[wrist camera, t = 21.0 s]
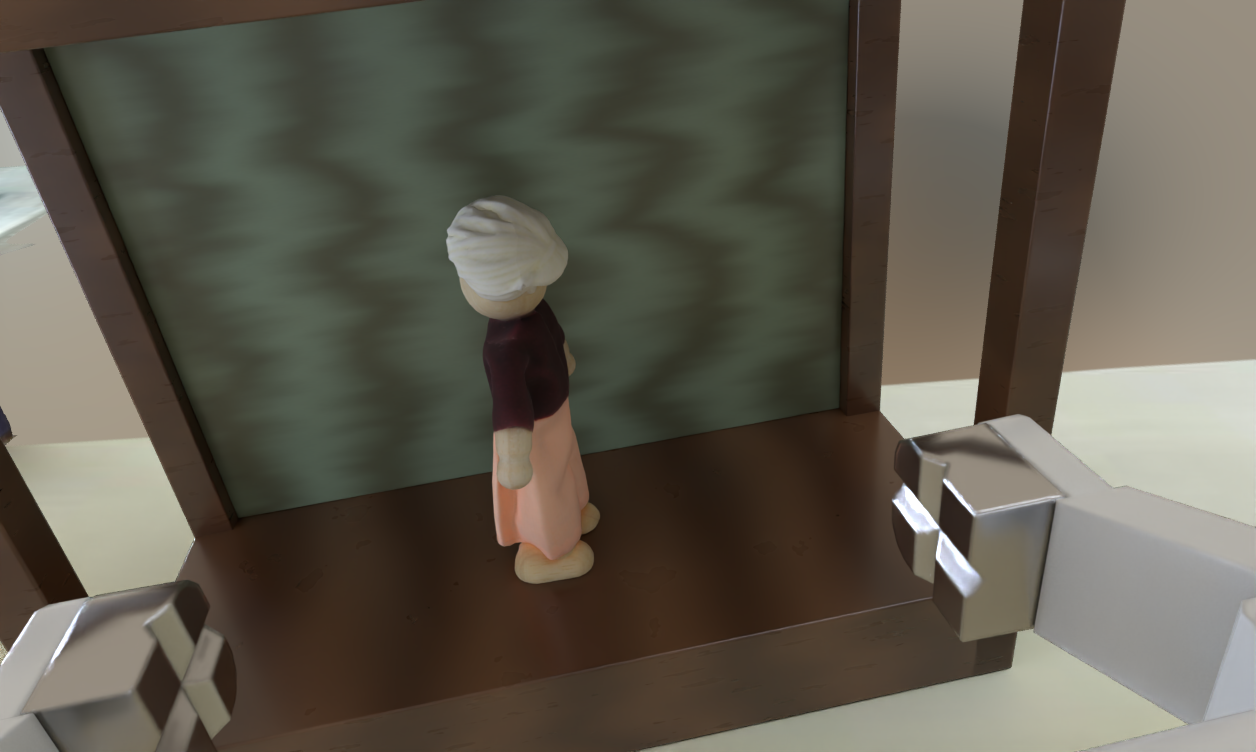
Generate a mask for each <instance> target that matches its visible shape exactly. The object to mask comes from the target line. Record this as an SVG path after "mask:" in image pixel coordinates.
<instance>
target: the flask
mask: <svg viewBox="0 0 1256 752" xmlns="http://www.w3.org/2000/svg"><path fill="white" fill-rule="evenodd" d="M13 437H15V435H14V436H13V435H12V432H11V427H10V424H9V422H8V420H7V418H6V415H5V414H4V413H3V411H2V409H1V407H0V438H1V440H2V441H3V443H4V445H6V444H7V443H8V442H9V441H10V439H12V438H13Z"/></svg>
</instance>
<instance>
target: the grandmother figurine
mask: <svg viewBox="0 0 1256 752" xmlns="http://www.w3.org/2000/svg"><path fill="white" fill-rule="evenodd" d="M447 233H448V238H447V240H446V243H447V247H448V254H449V257H448V258H449V259H450V260H451V261H452V262H453V263H454V264H455V266H456V269H457V272H458V276H459V280H460V285H461V289H462V292H463V294H464V296H465V298H466V299H467V301H468V302H469V304H470V305H471V306H472V307H473V308H474V309H475V310H476V311H477V312H479V313H480V314H482V315H484V316H487V317H489V322H488V327H487V334H486V338H485V342H484V346H483V363H484V368H485V372H486V376H487V380H488V383H489V387H490V391H491V395H492V398H493V409H492V423H493V431H494V434H493V476H492V487H493V505H494V519H495V526H496V534H497V541H498V543H499V544H500V545H502V546H511V545H512V544H514V543H518V542H521V544H520V545H519V550H518V552H517V555H516V559H515V572H516V575H517V576H518V577H519V578H520V579H521V580H522V581H524V582H528V583H532V584H539V583H546V582H552V581H557V580H564V579H570V578H575V577H579V576H581V575H584V574H585V573H587V572H588V571H589V570H590V569H591V568H592V566H593V563H594V553H593V551H592V549H591V547H590V546H589V545H588V544H587V543H585V542H583V541H581V540H580V537H581V535H582V534H586V533H588V532H590V531H592V530H593V529H594V528H595V527H596V526H597V524H598V522H599V520H600V513H599V511H598V510H597V508H596V507H595V506H594V505H593V504H591V503H589V502H588V500H589V491H588V485H587V480H586V474H585V471H584V468H583V464H582V460H581V456H580V452H579V447H578V443H577V439H576V435H575V432H574V430H573V428H572V426H571V415H570V408H569V400H568V396H569V376H570V375H571V374H572V373H573V372H574V370H575V366H576V363H575V359H574V357H573V356H572V354H571V353H570V352H569V347H568V344H567V342H566V340H565V334H564V331H563V329H562V327H561V326H560V324H559V323H558V321H557V319H556V316H555V314H554V313H553V311H552V309H551V308H550V306H549V304H548V303H547V302H546V301H545V300H544V299H543V297H544V294H545V292H546V288H547V285H550V284H552V283H553V282H555V281H556V280H557V279H558V278H559V277H560V276H561V275H562V273H563V272H564V269H565V267H566V265H567V261H568V250H567V247H566V246H565V244H564V243H563V241H562V240H561V238H560V237H559V236H558V235H557V234H556V233H555V230H554V228H553V227H552V226H551V224H550V221H549V220H548V219H547V217H546V216H545V215H544V214H543V213H541V212H539V211H537V210H535V209H532V208H530V207H528V206H527V205H525V204H523V203H521V202H519V201H516V200H514V199H512V198H509V197H506V196H501V195H496V196H491V197H486V198H481V199H478V200H476V201H474V202H472V203H470V204H469V205H468V206H465V207H463V208H462V209H461V210H460V211H459V212H458V213H457V215H456V217H455V219H454V220H453V222H452V224H451V226H450V227H449V228H448V229H447Z"/></svg>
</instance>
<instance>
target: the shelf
mask: <svg viewBox="0 0 1256 752" xmlns="http://www.w3.org/2000/svg"><path fill="white" fill-rule="evenodd" d="M1125 3H1126V0H1024V2H1023V11H1022V18H1021V27H1020V35H1019V44H1018V52H1017V61H1016V69H1015V78H1014V86H1013V95H1012V103H1011V112H1010V120H1009V129H1008V137H1007V146H1006V154H1005V163H1004V172H1003V181H1002V189H1001V197H1000V206H999V214H998V223H997V231H996V240H995V249H994V257H993V265H992V274H991V282H990V291H989V299H988V308H987V317H986V325H985V334H984V342H983V351H982V359H981V368H980V376H979V385H978V393H977V402H976V410H975V419H974V425H977V424H978V423H980V422H984V421H989V420H993V419H998V418H1002V417H1006V416H1011V415H1015V414H1020V415H1024V416H1027V417H1030V418H1031V419H1032V420H1033V421H1035V422H1036V423H1037V424H1038V425H1039V426H1041V427H1042V428H1043V429H1044V430H1045V431H1046V432H1048V433H1049V434H1050V435H1051V434H1052V428H1053V422H1054V416H1055V410H1056V405H1057V399H1058V393H1059V387H1060V381H1061V375H1062V369H1063V364H1064V358H1065V352H1066V346H1067V340H1068V335H1069V329H1070V323H1071V317H1072V311H1073V306H1074V300H1075V294H1076V288H1077V282H1078V276H1079V270H1080V264H1081V259H1082V253H1083V247H1084V241H1085V235H1086V229H1087V224H1088V218H1089V212H1090V207H1091V200H1092V195H1093V189H1094V183H1095V177H1096V172H1097V166H1098V160H1099V153H1100V148H1101V142H1102V136H1103V131H1104V125H1105V119H1106V113H1107V107H1108V101H1109V96H1110V90H1111V84H1112V78H1113V73H1114V67H1115V61H1116V55H1117V49H1118V43H1119V38H1120V32H1121V26H1122V20H1123V14H1124V7H1125ZM900 13H901V0H0V109H1V112H2V113H3V116H4V118H5V120H6V123H7V125H8V127H9V129H10V131H11V133H12V136H13V138H14V140H15V142H16V144H17V147H18V149H19V151H20V153H21V155H22V158H23V160H24V162H25V164H26V167H27V169H28V171H29V173H30V175H31V178H32V180H33V182H34V184H35V187H36V189H37V191H38V193H39V195H40V198H41V200H42V202H43V204H44V206H45V209H46V211H47V213H48V215H49V217H50V220H51V222H52V224H53V226H54V228H55V231H56V233H57V235H58V237H59V239H60V242H61V244H62V246H63V248H64V250H65V253H66V255H67V257H68V259H69V261H70V264H71V266H72V268H73V270H74V272H75V275H76V277H77V279H78V281H79V283H80V285H81V288H82V290H83V292H84V295H85V297H86V299H87V301H88V303H89V306H90V307H91V310H92V312H93V314H94V317H95V319H96V321H97V323H98V325H99V327H100V330H101V332H102V334H103V336H104V339H105V341H106V343H107V345H108V347H109V350H110V352H111V354H112V356H113V358H114V360H115V363H116V365H117V367H118V370H119V372H120V374H121V376H122V378H123V380H124V383H125V385H126V387H127V389H128V392H129V394H130V396H131V398H132V400H133V403H134V405H135V407H136V409H137V411H138V413H139V416H140V418H141V420H142V422H143V425H144V427H145V429H146V431H147V433H148V436H149V438H150V440H151V442H152V444H153V447H154V449H155V451H156V453H157V455H158V458H159V460H160V462H161V464H162V467H163V469H164V471H165V473H166V475H167V478H168V480H169V482H170V484H171V486H172V489H173V491H174V493H175V495H176V497H177V500H178V502H179V504H180V506H181V508H182V511H183V513H184V515H185V517H186V519H187V522H188V524H189V526H190V528H191V530H192V533H193V535H194V537H195V538H194V540H193V543H192V545H191V547H190V549H189V552H188V554H187V556H186V558H185V560H184V563H183V565H182V567H181V569H180V572H179V574H178V576H177V578H176V581H181V580H187V579H188V580H190V581H193V582H196V583H198V584H199V585H200V587H201V589H202V591H203V592H204V594H205V596H206V598H207V600H208V602H209V604H210V605H211V606H210V609H209V612H208V614H207V617H206V620H205V622H204V624H206V625H207V626H209V627H211V628H213V629H215V630H216V631H218V632H220V633H222V634H224V635H225V637H226V639H227V641H228V643H229V645H230V648H231V650H232V652H233V657H234V661H235V665H236V670H237V692H236V701H235V705H234V708H233V712H232V716H231V719H230V721H229V722H228V723H227V724H226V725H225V726H224V727H223V728H222V729H221V730H220V731H219V732H218V733H217V734H216V735H215V736H214V737H213V739H212V742H213V744H214V746H215V748H216V750H217V751H218V752H631V751H635V750H640V749H644V748H649V747H653V746H658V745H662V744H667V743H671V742H676V741H680V740H685V739H689V738H694V737H698V736H703V735H707V734H712V733H716V732H721V731H725V730H730V729H734V728H739V727H743V726H748V725H752V724H757V723H761V722H766V721H770V720H775V719H779V718H784V717H788V716H793V715H797V714H802V713H806V712H811V711H815V710H820V709H824V708H829V707H833V706H838V705H842V704H847V703H851V702H856V701H860V700H865V699H869V698H874V697H878V696H883V695H887V694H892V693H896V692H901V691H905V690H910V689H914V688H919V687H923V686H928V685H932V684H937V683H941V682H946V681H950V680H955V679H959V678H964V677H968V676H975V675H980V674H984V673H989V672H993V671H998V670H1002V669H1007V668H1010V667H1012V661H1013V655H1014V649H1015V643H1016V638H1017V632H1013V633H1008V634H1003V635H998V636H992V637H987V638H982V639H977V640H972V641H967V642H961V640H960V639H959V638H958V636H957V635H956V633H955V632H954V631H953V629H952V628H951V626H950V625H949V624H948V622H947V621H946V619H945V618H944V616H943V615H942V614H941V612H940V611H939V609H938V608H937V607H936V605H935V604H934V602H933V601H932V599H933V586H934V584H933V583H931V582H929V581H927V580H924V579H922V578H920V577H918V576H916V575H914V574H913V572H912V571H911V569H910V568H909V566H908V565H907V564H906V562H905V561H904V559H903V557H902V554H901V552H900V550H899V548H898V546H897V543H896V539H895V534H894V530H893V526H892V499H893V497H894V496H895V494H896V493H897V492H898V490H899V489H900V488H901V486H902V485H903V484H904V482H903V481H902V479H901V478H900V477H899V476H898V474H897V473H896V472H895V470H894V455H895V450H896V447H897V445H898V442H899V440H903V439H904V438H903V437H902V436H901V435H900V434H899V432H898V431H897V430H896V429H895V428H894V427H893V426H892V424H891V423H890V422H889V421H888V420H887V419H886V418H885V416H884V415H883V414H882V413H881V412H880V397H881V377H882V359H883V340H884V320H885V301H886V281H887V262H888V244H889V225H890V205H891V186H892V167H893V148H894V129H895V109H896V90H897V89H896V88H897V70H898V51H899V33H900ZM496 195H501V196H506V197H509V198H512V199H514V200H516V201H519V202H521V203H523V204H525V205H527V206H528V207H530V208H532V209H535V210H537V211H539V212H541V213H543V214H544V215H545V216H546V217H547V219H548V220H549V221H550V224H551V226H552V227H553V228H554V230H555V233H556V234H557V235H558V236H559V237H560V238H561V240H562V241H563V243H564V244H565V246H566V247H567V250H568V261H567V265H566V267H565V269H564V272H563V273H562V275H561V276H560V277H559V278H558V279H557V280H556V281H555V282H553V283H552V284H550V285H547V288H546V292H545V294H544V297H543V299H544V300H545V301H546V302H547V303H548V304H549V306H550V308H551V309H552V311H553V313H554V314H555V316H556V319H557V321H558V323H559V324H560V326H561V327H562V329H563V331H564V334H565V340H566V342H567V344H568V347H569V352H570V353H571V354H572V356H573V357H574V359H575V363H576V366H575V370H574V372H573V373H572V374H571V375H570V376H569V396H568V400H569V408H570V415H571V426H572V428H573V430H574V432H575V435H576V439H577V443H578V447H579V452H580V456H581V460H582V464H583V468H584V471H585V474H586V480H587V485H588V491H589V500H588V502H589V503H591V504H593V505H594V506H595V507H596V508H597V510H598V511H599V513H600V520H599V522H598V524H597V526H596V527H595V528H594V529H593V530H592V531H590V532H588V533H586V534H582V535H581V537H580V540H581V541H583V542H585V543H587V544H588V545H589V546H590V547H591V549H592V551H593V553H594V563H593V566H592V568H591V569H590V570H589V571H588V572H587V573H585V574H584V575H581V576H579V577H575V578H570V579H564V580H557V581H552V582H546V583H539V584H532V583H528V582H524V581H522V580H521V579H520V578H519V577H518V576H517V575H516V572H515V559H516V555H517V552H518V550H519V545H520V544H521V542H518V543H514V544H512V545H511V546H502V545H500V544H499V543H498V541H497V534H496V526H495V519H494V505H493V487H492V476H493V434H494V431H493V423H492V409H493V398H492V395H491V391H490V387H489V383H488V380H487V376H486V372H485V368H484V363H483V346H484V342H485V338H486V334H487V327H488V322H489V317H487V316H484V315H482V314H480V313H479V312H477V311H476V310H475V309H474V308H473V307H472V306H471V305H470V304H469V302H468V301H467V299H466V298H465V296H464V294H463V292H462V289H461V285H460V280H459V276H458V272H457V269H456V266H455V264H454V263H453V262H452V261H451V260H450V259H449V258H448V257H449V254H448V247H447V243H446V240H447V238H448V233H447V229H448V228H449V227H450V226H451V224H452V222H453V220H454V219H455V217H456V215H457V213H458V212H459V211H460V210H461V209H462V208H463V207H465V206H468V205H469V204H470V203H472V202H474V201H476V200H478V199H481V198H486V197H491V196H496ZM86 597H89V596H88V594H87V592H86V590H85V589H84V587H83V585H82V583H81V582H80V580H79V578H78V576H77V574H76V573H75V571H74V569H73V567H72V565H71V564H70V562H69V560H68V558H67V556H66V555H65V553H64V551H63V549H62V547H61V546H60V544H59V542H58V540H57V538H56V537H55V535H54V533H53V531H52V529H51V528H50V526H49V524H48V522H47V520H46V519H45V517H44V515H43V513H42V511H41V510H40V508H39V506H38V504H37V503H36V501H35V499H34V497H33V495H32V494H31V492H30V490H29V488H28V486H27V485H26V483H25V481H24V479H23V477H22V476H21V474H20V472H19V470H18V468H17V467H16V465H15V463H14V461H13V459H12V458H11V456H10V454H9V452H8V450H7V449H6V447H5V445H4V443H3V441H2V440H1V438H0V641H1V643H2V644H3V646H4V647H5V649H6V650H7V652H9V650H10V649H11V647H12V646H13V644H14V643H15V641H16V640H17V638H18V637H19V635H20V633H21V632H22V630H23V629H24V627H25V626H26V624H27V623H28V621H29V620H30V618H31V616H32V615H33V613H34V612H36V611H38V610H39V609H41V608H43V607H45V606H47V605H49V604H54V603H60V602H65V601H70V600H75V599H81V598H86Z"/></svg>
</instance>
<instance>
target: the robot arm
mask: <svg viewBox="0 0 1256 752" xmlns="http://www.w3.org/2000/svg"><path fill="white" fill-rule="evenodd" d="M894 470H895V472H896V473H897V474H898V476H899V477H900V478H901V479H902V481H903V482H904V484H903V485H902V486H901V488H900V489H899V490H898V492H897V493H896V494H895V496H894V497H893V499H892V526H893V530H894V534H895V539H896V543H897V546H898V548H899V550H900V552H901V554H902V557H903V559H904V561H905V562H906V564H907V565H908V566H909V568H910V569H911V571H912V572H913V574H914V575H916V576H918V577H920V578H922V579H924V580H927V581H929V582H931V583H933V584H934V586H933V599H932V601H933V602H934V604H935V605H936V607H937V608H938V609H939V611H940V612H941V614H942V615H943V616H944V618H945V619H946V621H947V622H948V624H949V625H950V626H951V628H952V629H953V631H954V632H955V633H956V635H957V636H958V638H959V639H960V640H961V642H967V641H972V640H977V639H982V638H987V637H992V636H998V635H1003V634H1008V633H1013V632H1018V631H1023V630H1029V629H1034V633H1036V634H1038V635H1039V636H1041V637H1043V638H1044V639H1046V640H1048V641H1049V642H1051V643H1053V644H1054V645H1056V646H1058V647H1059V648H1061V649H1063V650H1064V651H1066V652H1068V653H1069V654H1071V655H1073V656H1074V657H1076V658H1078V659H1080V660H1081V661H1083V662H1085V663H1086V664H1088V665H1090V666H1091V667H1093V668H1095V669H1096V670H1098V671H1100V672H1101V673H1103V674H1105V675H1106V676H1108V677H1110V678H1111V679H1113V680H1115V681H1116V682H1118V683H1120V684H1122V685H1123V686H1125V687H1127V688H1128V689H1130V690H1132V691H1133V692H1135V693H1137V694H1138V695H1140V696H1142V697H1143V698H1145V699H1147V700H1148V701H1150V702H1152V703H1153V704H1155V705H1157V706H1158V707H1160V708H1162V709H1164V710H1165V711H1167V712H1169V713H1170V714H1172V715H1174V716H1175V717H1177V718H1179V719H1180V720H1182V721H1184V722H1185V723H1187V724H1189V725H1185V726H1181V727H1177V728H1173V729H1168V730H1164V731H1160V732H1156V733H1152V734H1148V735H1143V736H1139V737H1135V738H1131V739H1127V740H1122V741H1118V742H1114V743H1110V744H1106V745H1102V746H1097V747H1093V748H1089V749H1085V750H1081V751H1076V752H1256V527H1254V526H1250V525H1247V524H1244V523H1241V522H1238V521H1235V520H1232V519H1229V518H1225V517H1222V516H1219V515H1216V514H1213V513H1210V512H1207V511H1204V510H1201V509H1197V508H1194V507H1191V506H1188V505H1185V504H1182V503H1179V502H1176V501H1172V500H1169V499H1166V498H1163V497H1160V496H1157V495H1154V494H1151V493H1147V492H1144V491H1141V490H1138V489H1135V488H1132V487H1129V486H1122V487H1117V488H1113V487H1111V486H1110V485H1109V484H1108V483H1107V482H1106V481H1104V480H1103V479H1102V478H1101V477H1100V476H1098V475H1097V474H1096V473H1095V472H1094V471H1093V470H1091V469H1090V468H1089V467H1088V466H1087V465H1085V464H1084V463H1083V462H1082V461H1081V460H1080V459H1078V458H1077V457H1076V456H1075V455H1074V454H1072V453H1071V452H1070V451H1069V450H1068V449H1067V448H1065V447H1064V446H1063V445H1062V444H1061V443H1059V442H1058V441H1057V440H1056V439H1055V438H1054V437H1052V436H1051V435H1050V434H1049V433H1048V432H1046V431H1045V430H1044V429H1043V428H1042V427H1041V426H1039V425H1038V424H1037V423H1036V422H1035V421H1033V420H1032V419H1031V418H1030V417H1027V416H1024V415H1020V414H1015V415H1011V416H1006V417H1002V418H998V419H993V420H989V421H984V422H980V423H978V424H977V425H973V426H968V427H963V428H958V429H953V430H948V431H943V432H938V433H933V434H928V435H923V436H918V437H913V438H908V439H903V440H899V442H898V445H897V447H896V450H895V455H894ZM210 606H211V605H210V604H209V602H208V600H207V598H206V596H205V594H204V592H203V591H202V589H201V587H200V585H199V584H198V583H196V582H193V581H190V580H188V579H187V580H181V581H175V582H170V583H164V584H158V585H153V586H147V587H141V588H136V589H130V590H124V591H118V592H113V593H107V594H101V595H96V596H94V597H86V598H81V599H75V600H70V601H65V602H60V603H54V604H49V605H47V606H45V607H43V608H41V609H39V610H38V611H36V612H34V613H33V615H32V616H31V618H30V620H29V621H28V623H27V624H26V626H25V627H24V629H23V630H22V632H21V633H20V635H19V637H18V638H17V640H16V641H15V643H14V644H13V646H12V647H11V649H10V650H9V652H8V654H7V655H6V657H5V658H4V660H3V661H2V663H1V664H0V752H218V751H217V750H216V748H215V746H214V744H213V742H212V739H213V737H214V736H215V735H216V734H217V733H218V732H219V731H220V730H221V729H222V728H223V727H224V726H225V725H226V724H227V723H228V722H229V721H230V719H231V716H232V712H233V708H234V705H235V701H236V692H237V670H236V665H235V661H234V657H233V652H232V650H231V648H230V645H229V643H228V641H227V639H226V637H225V635H224V634H222V633H220V632H218V631H216V630H215V629H213V628H211V627H209V626H207V625H206V624H204V622H205V620H206V617H207V614H208V612H209V609H210Z"/></svg>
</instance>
